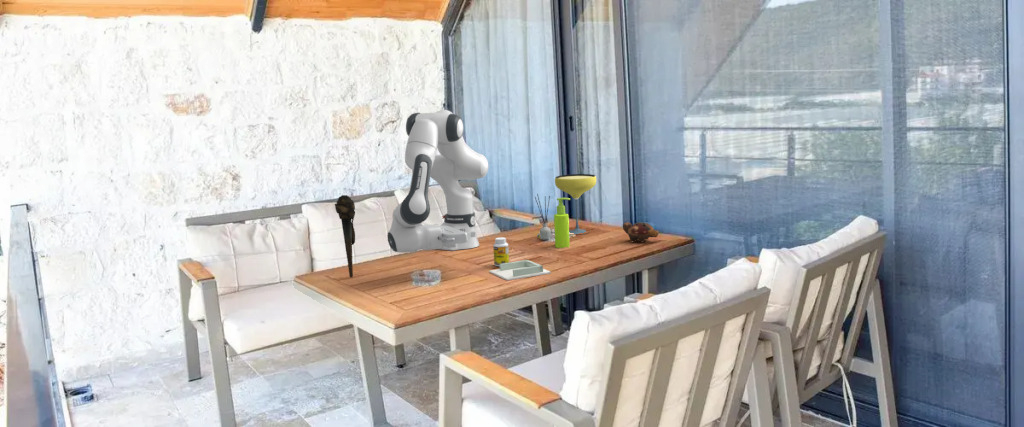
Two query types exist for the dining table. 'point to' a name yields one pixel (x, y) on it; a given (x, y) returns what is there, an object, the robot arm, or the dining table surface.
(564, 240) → the soap dispenser
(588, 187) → the cocktail glass
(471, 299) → the dining table surface
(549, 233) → the reed diffuser
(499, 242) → the supplement bottle
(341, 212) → the decorative torch
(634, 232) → the decorative turtle
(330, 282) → the dining table surface
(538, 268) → the u rest
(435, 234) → the robot arm
